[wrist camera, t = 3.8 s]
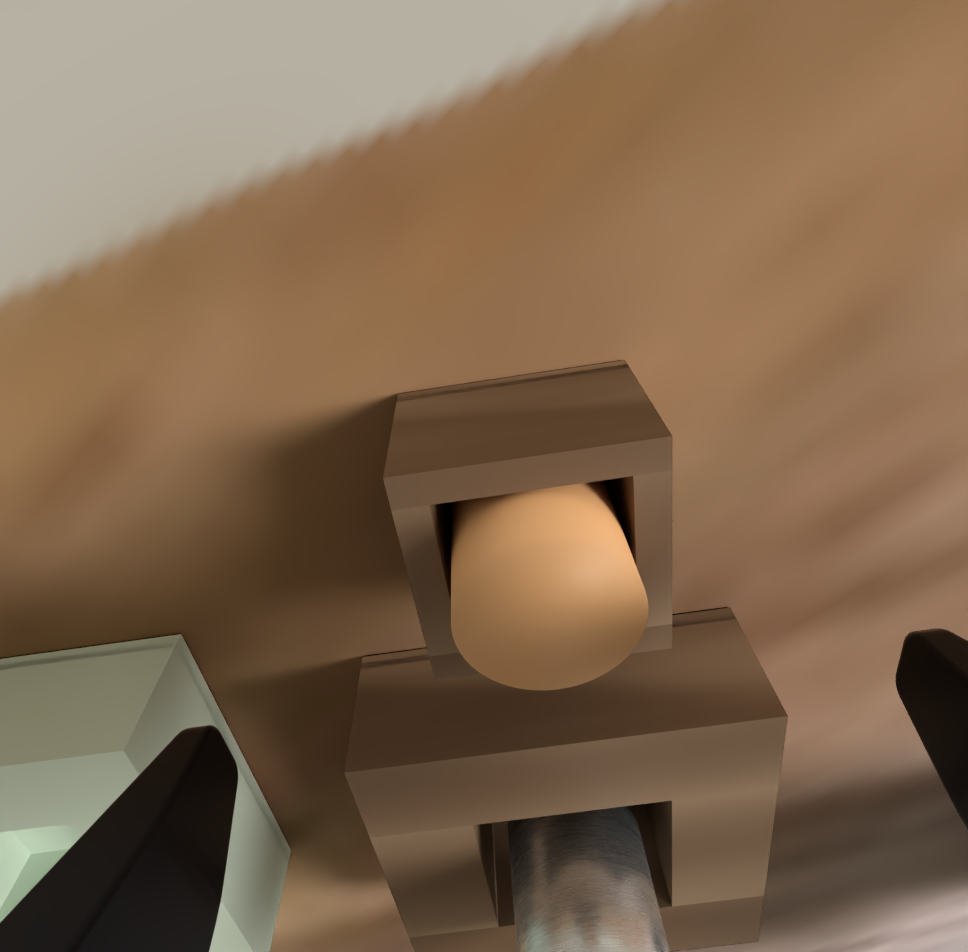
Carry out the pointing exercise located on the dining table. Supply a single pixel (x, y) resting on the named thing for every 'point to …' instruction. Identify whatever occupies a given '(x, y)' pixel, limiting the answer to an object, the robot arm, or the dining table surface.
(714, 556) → the dining table surface
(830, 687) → the dining table surface
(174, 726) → the block
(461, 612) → the button
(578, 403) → the button housing
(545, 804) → the block
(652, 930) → the steel pin
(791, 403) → the dining table surface
